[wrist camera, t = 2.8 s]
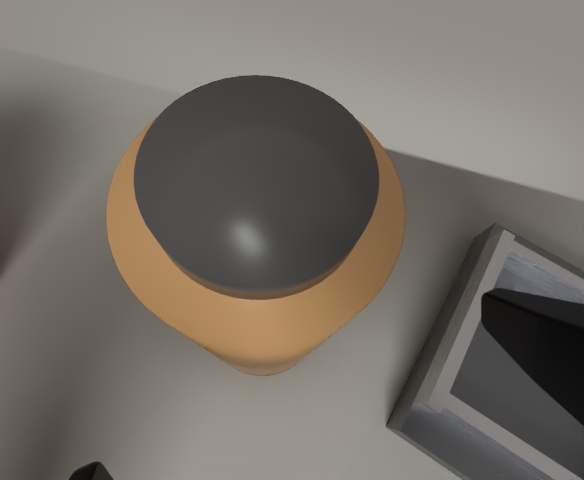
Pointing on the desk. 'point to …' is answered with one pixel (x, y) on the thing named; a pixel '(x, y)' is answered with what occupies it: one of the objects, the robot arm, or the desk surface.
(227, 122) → the bottle
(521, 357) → the robot arm
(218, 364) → the desk surface
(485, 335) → the motor mount
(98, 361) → the desk surface
